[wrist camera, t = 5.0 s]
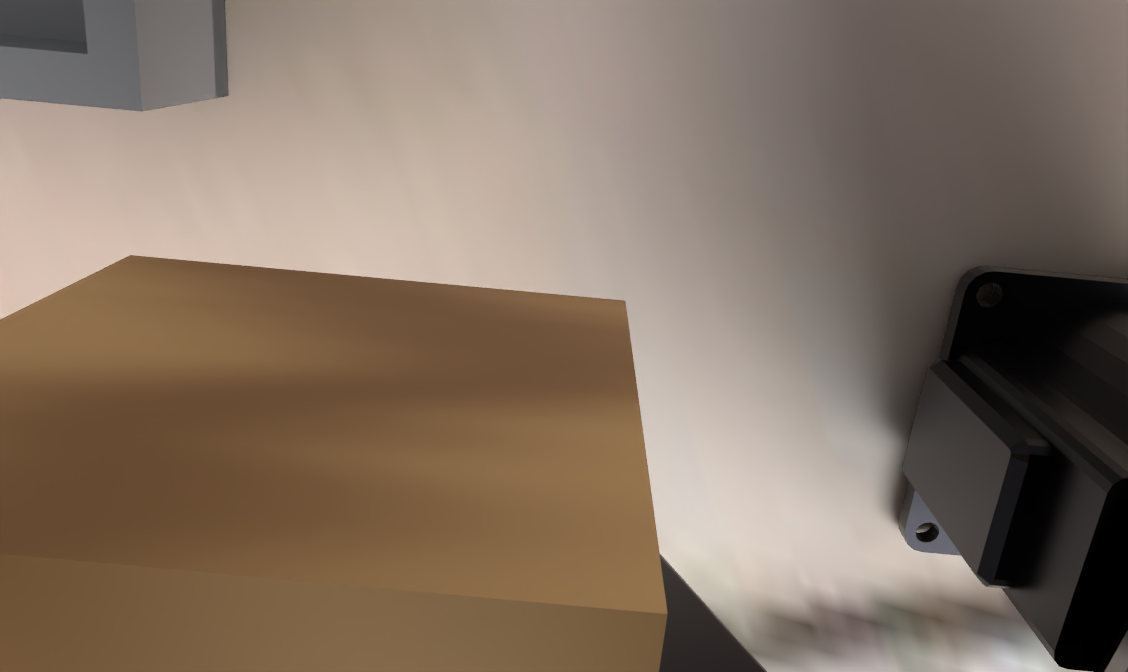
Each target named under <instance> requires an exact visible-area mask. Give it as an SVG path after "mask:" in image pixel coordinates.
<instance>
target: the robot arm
mask: <svg viewBox="0 0 1128 672" xmlns="http://www.w3.org/2000/svg"><path fill="white" fill-rule="evenodd" d="M988 283H993V285H994V291H993V293H992V295H991V297H989V298H988V299H986V300H985V301H980V302H977V295H976V294H977V292H978V290H979V289H980V288H981V287H982V286H983V285H985V284H988ZM903 473H904V474H905V476H906V477H907V479H908V480H909V482H908V486H907V490H906V494H905V498H904V503H903V507H902V511H901V515H900V519H899V530H900V532H901V534H902V536H903V537H904V539H905V541H906V542H907V544H908V545H909V546H910V547H911V548H913V549H914V550H917V551H921V552H929V553H939V554H950V555H961V556H962V557H963V558H964V560H965V561H966V563H967V564H968V565H969V567H970V568H971V570H972V571H973V573H974V574H975V575H976V576H977V578H978V579H979V580H980V581H981V583H982V584H984V585H985V586H986V587H995V588H1002V589H1003V591H1004V592H1005V594H1006V595H1007V596H1008V598H1009V599H1010V600H1011V602H1012V603H1013V604H1014V606H1015V607H1016V609H1017V610H1018V611H1019V613H1020V614H1021V615H1022V617H1023V618H1024V619H1025V621H1026V622H1027V624H1028V625H1029V626H1030V628H1031V629H1032V630H1033V632H1034V633H1035V634H1036V636H1037V637H1038V639H1039V640H1040V641H1041V643H1042V644H1043V645H1044V647H1045V648H1046V649H1047V651H1048V652H1049V654H1050V655H1051V656H1052V658H1053V659H1054V660H1055V662H1056V663H1057V664H1058V665H1059V666H1060V667H1063V668H1066V669H1071V670H1082V671H1093V672H1128V279H1120V278H1109V277H1099V276H1088V275H1077V274H1067V273H1056V272H1045V271H1034V270H1024V269H1013V268H1002V267H991V266H983V267H976V268H974V269H972V270H970V271H968V272H967V273H966V274H965V275H964V276H963V277H962V278H961V279H960V281H959V284H958V286H957V288H956V292H955V296H954V300H953V304H952V308H951V312H950V317H949V321H948V325H947V329H946V333H945V337H944V341H943V345H942V349H941V353H940V357H939V359H937V360H936V361H935V362H934V363H933V364H932V365H930V366H929V367H928V368H927V370H926V373H925V378H924V382H923V386H922V390H921V394H920V398H919V402H918V406H917V410H916V415H915V419H914V423H913V427H912V431H911V435H910V439H909V443H908V447H907V452H906V456H905V460H904V464H903ZM929 522H931V523H932V526H931V527H930V529H929V530H927V531H925V532H921V533H917V532H916V530H917V528H918V527H919V526H920V525H922V524H923V523H929ZM659 554H660V553H659ZM660 561H661V569H662V576H663V584H664V591H665V598H666V606H667V613H668V615H667V621H666V628H665V635H664V641H663V648H662V654H661V661H660V667H659V672H767V671H766V670H765V669H764V668H763V667H762V666H761V664H760V663H759V662H758V661H757V660H756V659H755V658H754V657H753V656H752V655H751V653H750V652H749V651H748V650H747V649H746V648H745V647H744V646H743V645H742V644H741V642H740V641H739V640H738V639H737V638H736V637H735V636H734V635H733V634H732V633H731V631H730V630H729V629H728V628H727V627H726V626H725V625H724V624H723V623H722V622H721V620H720V619H719V618H718V617H717V616H716V615H715V614H714V613H713V612H712V611H711V609H710V608H709V607H708V606H707V605H706V604H705V603H704V602H703V601H702V600H701V598H700V597H699V596H698V595H697V594H696V593H695V592H694V591H693V590H692V589H691V587H690V586H689V585H688V584H687V583H686V582H685V581H684V580H683V579H682V578H681V576H680V575H679V574H678V573H677V572H676V571H675V570H674V569H673V568H672V567H671V565H670V564H669V563H668V562H667V561H666V560H665V559H664V558H663V557H662V555H661V554H660Z"/></svg>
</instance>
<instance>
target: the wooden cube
mask: <svg viewBox="0 0 1128 672" xmlns="http://www.w3.org/2000/svg"><path fill="white" fill-rule="evenodd" d="M667 615H668V613H667V606H666V598H665V591H664V584H663V576H662V569H661V561H660V554H659V547H658V539H657V532H656V525H655V517H654V510H653V502H652V495H651V488H650V480H649V473H648V466H647V458H646V451H645V443H644V436H643V429H642V421H641V414H640V406H639V399H638V392H637V384H636V377H635V370H634V362H633V355H632V347H631V340H630V333H629V325H628V318H627V311H626V303H625V301H622V300H611V299H600V298H589V297H578V296H567V295H557V294H546V293H535V292H524V291H513V290H502V289H491V288H480V287H469V286H459V285H448V284H437V283H426V282H415V281H404V280H393V279H382V278H371V277H361V276H350V275H339V274H328V273H317V272H306V271H295V270H284V269H274V268H263V267H252V266H241V265H230V264H219V263H208V262H197V261H186V260H176V259H165V258H154V257H143V256H132V255H130V256H128V257H126V258H124V259H122V260H120V261H118V262H116V263H114V264H112V265H110V266H108V267H106V268H104V269H102V270H100V271H98V272H96V273H94V274H92V275H90V276H88V277H86V278H84V279H81V280H79V281H77V282H75V283H73V284H71V285H69V286H67V287H65V288H63V289H61V290H59V291H57V292H55V293H53V294H51V295H49V296H47V297H45V298H43V299H41V300H39V301H37V302H35V303H33V304H31V305H29V306H27V307H25V308H23V309H21V310H19V311H17V312H15V313H13V314H11V315H9V316H7V317H5V318H3V319H1V320H0V672H659V667H660V661H661V654H662V648H663V641H664V635H665V628H666V621H667Z"/></svg>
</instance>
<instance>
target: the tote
mask: <svg viewBox="0 0 1128 672" xmlns="http://www.w3.org/2000/svg"><path fill="white" fill-rule="evenodd" d="M224 96H228V75H227V49H226V23H225V0H0V98H5V99H16V100H26V101H37V102H48V103H58V104H69V105H80V106H91V107H101V108H112V109H123V110H134V111H147V110H152V109H158V108H163V107H169V106H174V105H180V104H185V103H191V102H196V101H202V100H207V99H213V98H218V97H224Z"/></svg>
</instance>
